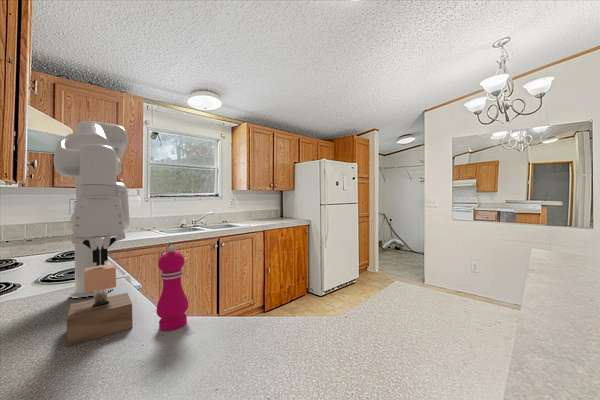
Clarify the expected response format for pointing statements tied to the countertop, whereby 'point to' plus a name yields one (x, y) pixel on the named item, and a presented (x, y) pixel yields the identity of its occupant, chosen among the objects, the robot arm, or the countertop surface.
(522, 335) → the countertop surface
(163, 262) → the pepper mill
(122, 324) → the post block
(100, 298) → the post
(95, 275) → the cardboard-colored cube
